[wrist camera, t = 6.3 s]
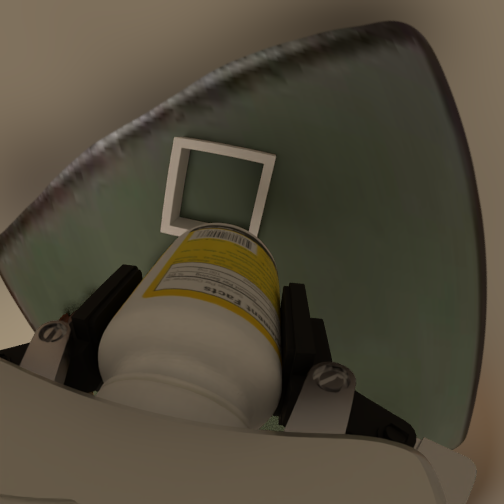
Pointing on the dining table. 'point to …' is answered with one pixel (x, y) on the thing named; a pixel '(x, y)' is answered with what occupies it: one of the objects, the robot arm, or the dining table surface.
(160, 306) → the supplement bottle
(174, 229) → the disc and frame
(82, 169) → the dining table surface
